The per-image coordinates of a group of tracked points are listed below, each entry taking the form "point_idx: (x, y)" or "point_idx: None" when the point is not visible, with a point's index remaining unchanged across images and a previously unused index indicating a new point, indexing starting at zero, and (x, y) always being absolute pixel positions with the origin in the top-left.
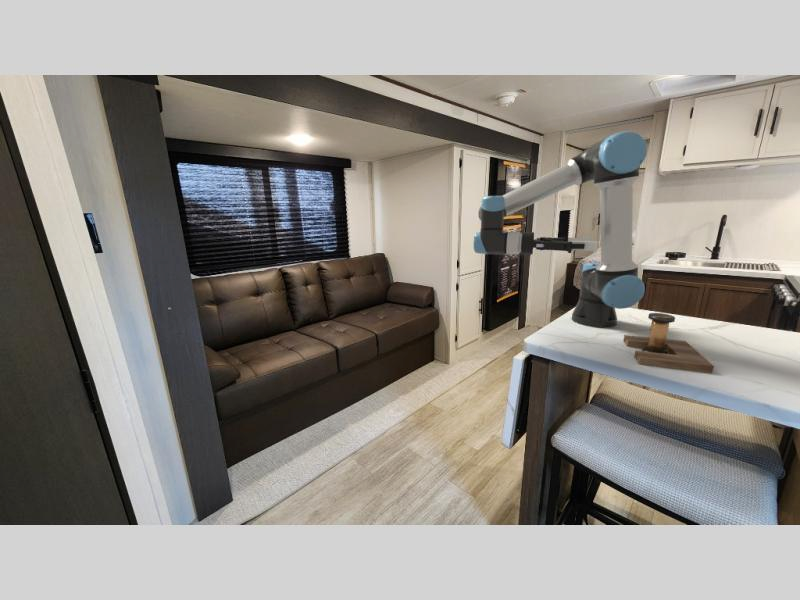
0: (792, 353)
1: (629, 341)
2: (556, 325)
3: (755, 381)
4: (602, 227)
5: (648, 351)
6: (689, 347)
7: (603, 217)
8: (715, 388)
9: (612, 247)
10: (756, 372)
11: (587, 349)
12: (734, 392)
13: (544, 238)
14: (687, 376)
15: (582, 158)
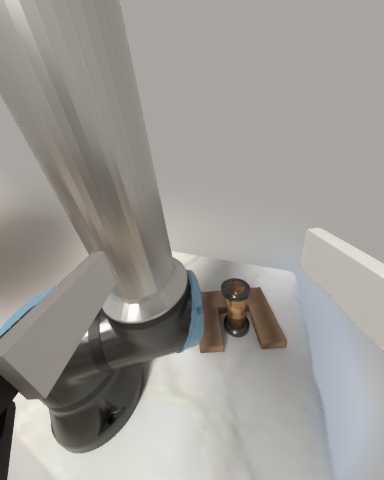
0: (187, 254)
1: (222, 344)
2: None
3: (255, 275)
4: (107, 191)
5: (242, 329)
6: (217, 293)
7: (97, 140)
8: (294, 297)
9: (161, 243)
10: (235, 272)
11: (275, 430)
12: (291, 289)
13: None
14: (282, 309)
15: None
